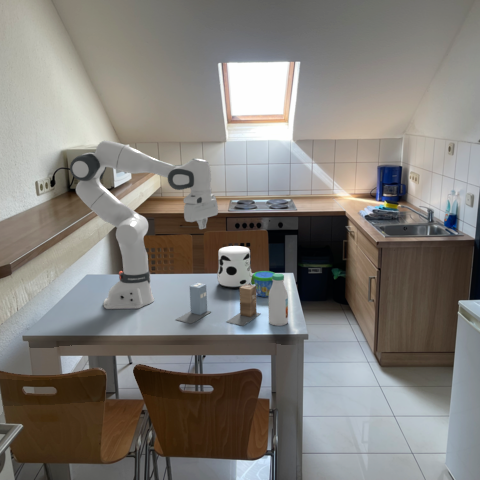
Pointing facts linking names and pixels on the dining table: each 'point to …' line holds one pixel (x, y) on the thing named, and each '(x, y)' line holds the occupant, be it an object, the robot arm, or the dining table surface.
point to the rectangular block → (198, 298)
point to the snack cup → (262, 282)
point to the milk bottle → (278, 301)
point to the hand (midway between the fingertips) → (202, 228)
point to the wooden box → (248, 300)
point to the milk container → (234, 266)
